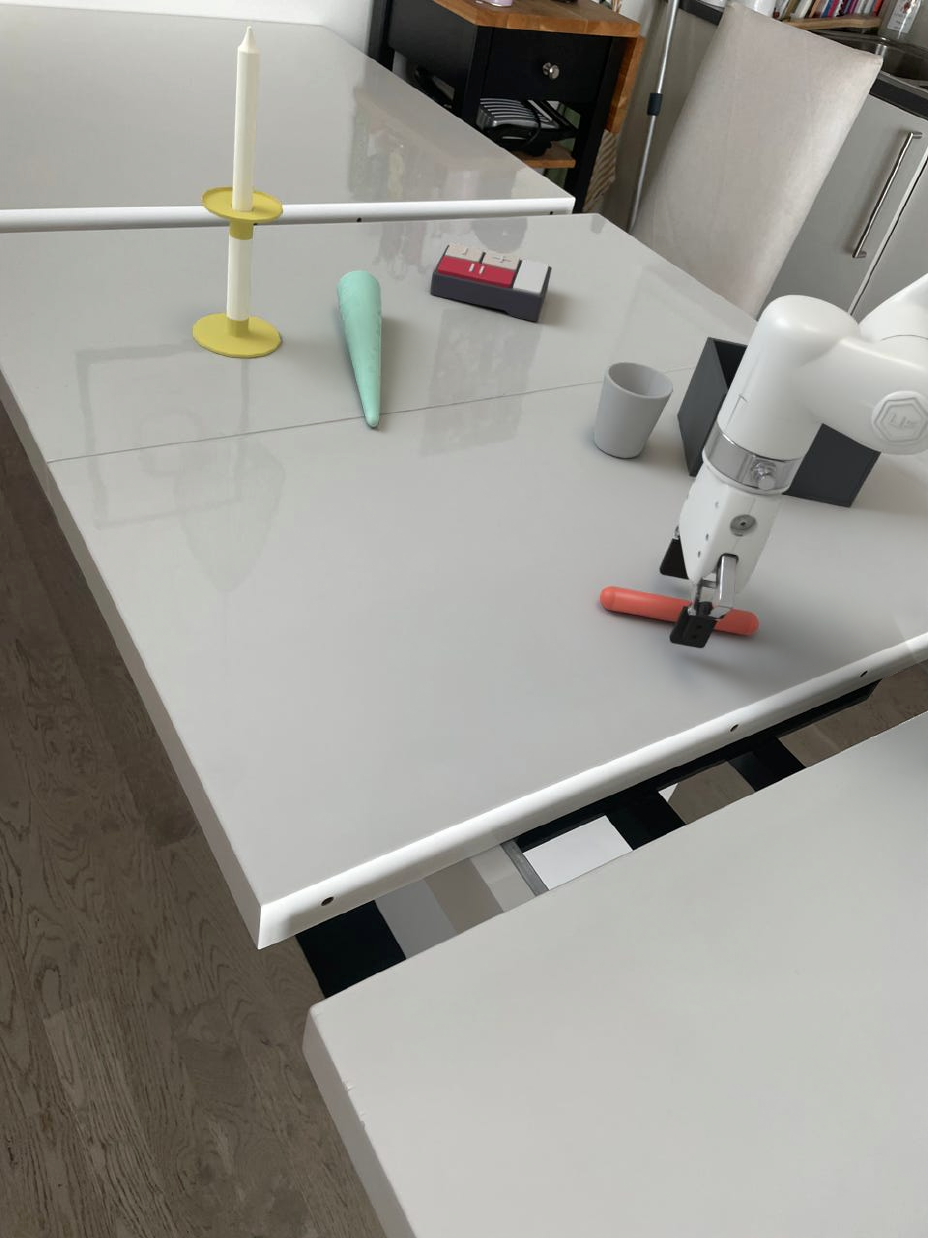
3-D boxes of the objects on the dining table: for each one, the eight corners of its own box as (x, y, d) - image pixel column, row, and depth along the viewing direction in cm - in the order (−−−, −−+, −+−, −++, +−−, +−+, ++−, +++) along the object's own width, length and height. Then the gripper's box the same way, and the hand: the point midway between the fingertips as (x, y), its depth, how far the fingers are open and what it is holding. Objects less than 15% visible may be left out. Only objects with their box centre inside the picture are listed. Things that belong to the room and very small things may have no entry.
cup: (589, 458, 109) (611, 391, 103) (578, 411, 116) (598, 346, 111) (654, 468, 110) (679, 402, 105) (639, 420, 118) (662, 356, 112)
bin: (825, 445, 122) (864, 369, 115) (850, 507, 112) (895, 428, 105) (676, 415, 121) (707, 336, 113) (689, 475, 111) (724, 393, 104)
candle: (185, 349, 109) (186, 21, 88) (199, 308, 117) (204, -4, 95) (275, 363, 111) (298, 44, 89) (284, 323, 118) (308, 18, 97)
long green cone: (353, 382, 101) (339, 267, 120) (347, 427, 104) (334, 309, 123) (405, 387, 102) (383, 272, 121) (397, 432, 106) (377, 314, 125)
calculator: (448, 238, 137) (553, 260, 137) (444, 268, 140) (547, 290, 140) (432, 267, 129) (544, 291, 129) (428, 298, 132) (537, 322, 131)
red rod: (751, 625, 93) (760, 609, 92) (755, 641, 91) (764, 625, 90) (596, 597, 92) (603, 579, 90) (597, 612, 90) (604, 594, 89)
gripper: (820, 526, 73) (732, 682, 85) (777, 407, 86) (706, 557, 97) (723, 506, 72) (648, 667, 84) (695, 389, 85) (633, 543, 97)
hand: (680, 607), depth 91 cm, fingers open, 9 cm apart
